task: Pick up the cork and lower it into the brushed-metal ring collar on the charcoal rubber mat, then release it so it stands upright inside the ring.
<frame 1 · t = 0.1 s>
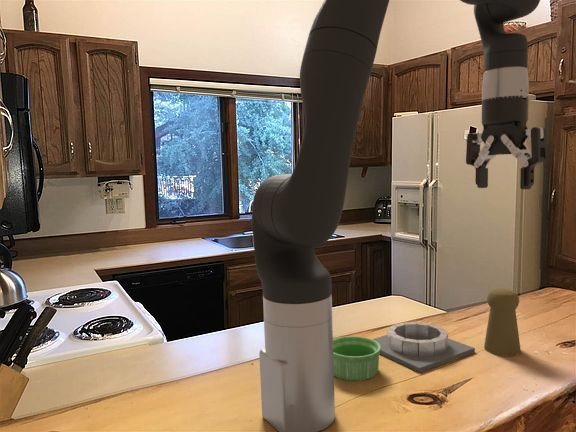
hand: (503, 188, 84), 29 cm above the worktop, fingers open, 8 cm apart
ring collar: (417, 338, 85), on the fitting mat, point 2 cm above the worktop
cork: (502, 350, 84), on the worktop
ramekin: (353, 372, 78), on the worktop
fitting mat: (417, 349, 85), on the worktop
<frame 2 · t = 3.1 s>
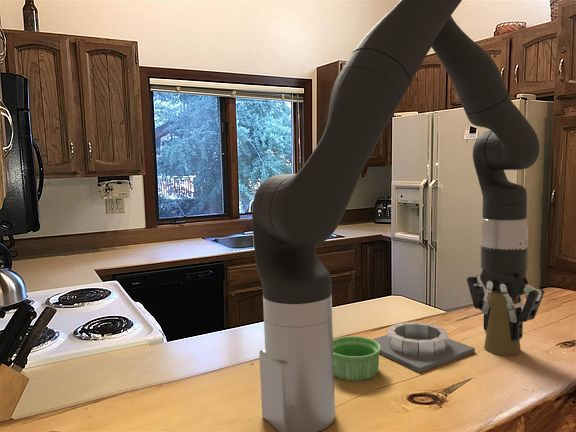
hand: (502, 337, 84), 2 cm above the worktop, fingers closed on cork, 4 cm apart
cork: (502, 350, 84), on the worktop, touching gripper
everything else where it was.
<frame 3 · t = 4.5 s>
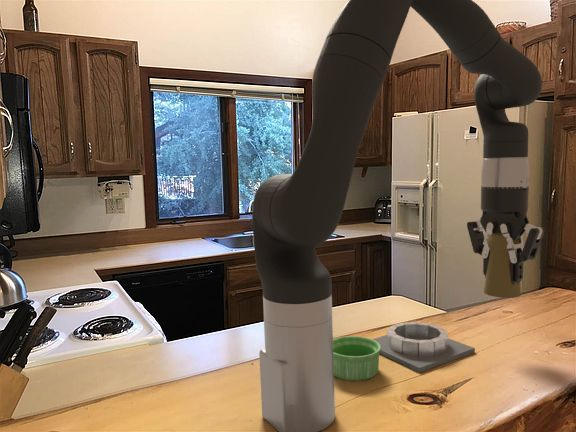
hand: (502, 280, 82), 13 cm above the worktop, fingers closed on cork, 4 cm apart
cork: (501, 294, 83), point 10 cm above the worktop, touching gripper
everything else where it was.
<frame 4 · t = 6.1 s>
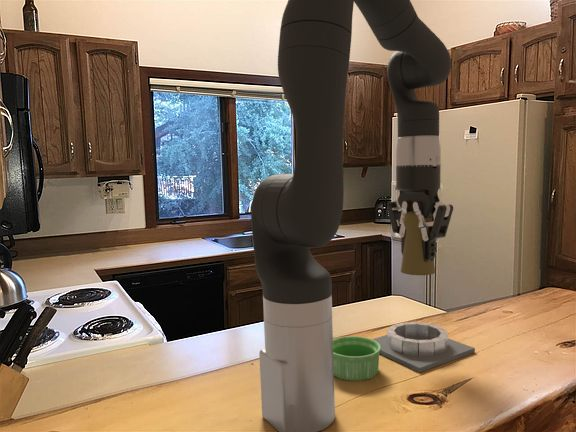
hand: (417, 259, 83), 17 cm above the worktop, fingers closed on cork, 4 cm apart
cork: (417, 272, 83), point 14 cm above the worktop, touching gripper
everything else where it was.
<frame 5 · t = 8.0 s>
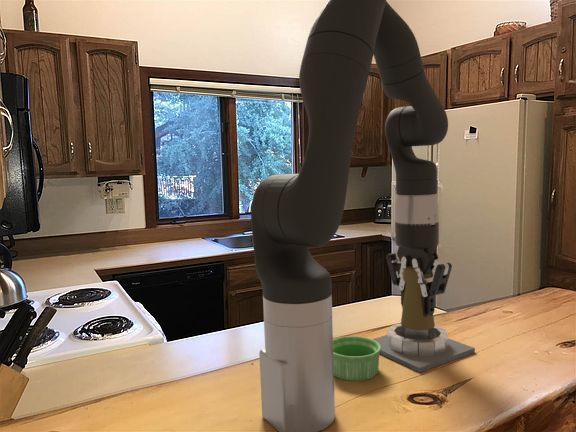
hand: (417, 312, 85), 7 cm above the worktop, fingers closed on cork, 4 cm apart
cork: (417, 325, 85), point 4 cm above the worktop, touching gripper
everything else where it was.
when the fingers open (5 cm above the worktop, at t = 9.3 s): cork drops 2 cm, resting on fitting mat.
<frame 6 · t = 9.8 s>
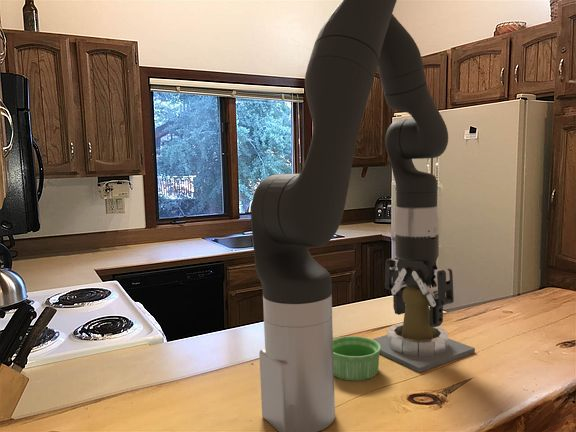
hand: (417, 319, 85), 6 cm above the worktop, fingers open, 8 cm apart
cork: (417, 346, 85), point 1 cm above the worktop, touching fitting mat
everything else where it was.
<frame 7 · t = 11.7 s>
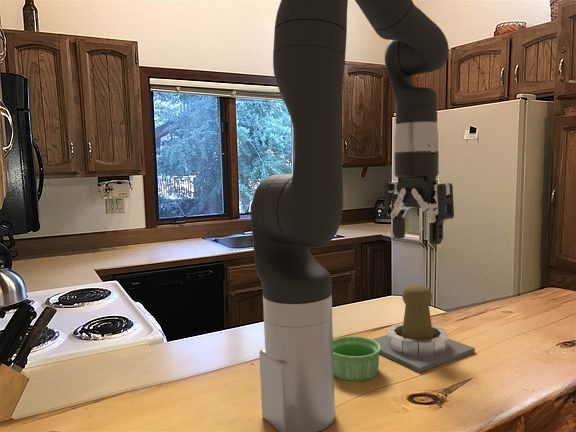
hand: (416, 240, 83), 20 cm above the worktop, fingers open, 8 cm apart
nothing on the worktop moved.
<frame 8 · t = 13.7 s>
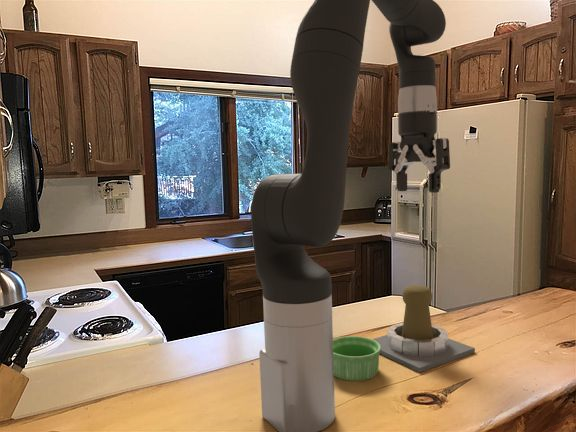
hand: (417, 191, 95), 28 cm above the worktop, fingers open, 8 cm apart
nothing on the worktop moved.
at the end: cork 0.1 cm off-centre on the ring collar, point 0.6 cm above the ring collar's base; cork tilted 0°; the gripper is holding nothing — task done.
